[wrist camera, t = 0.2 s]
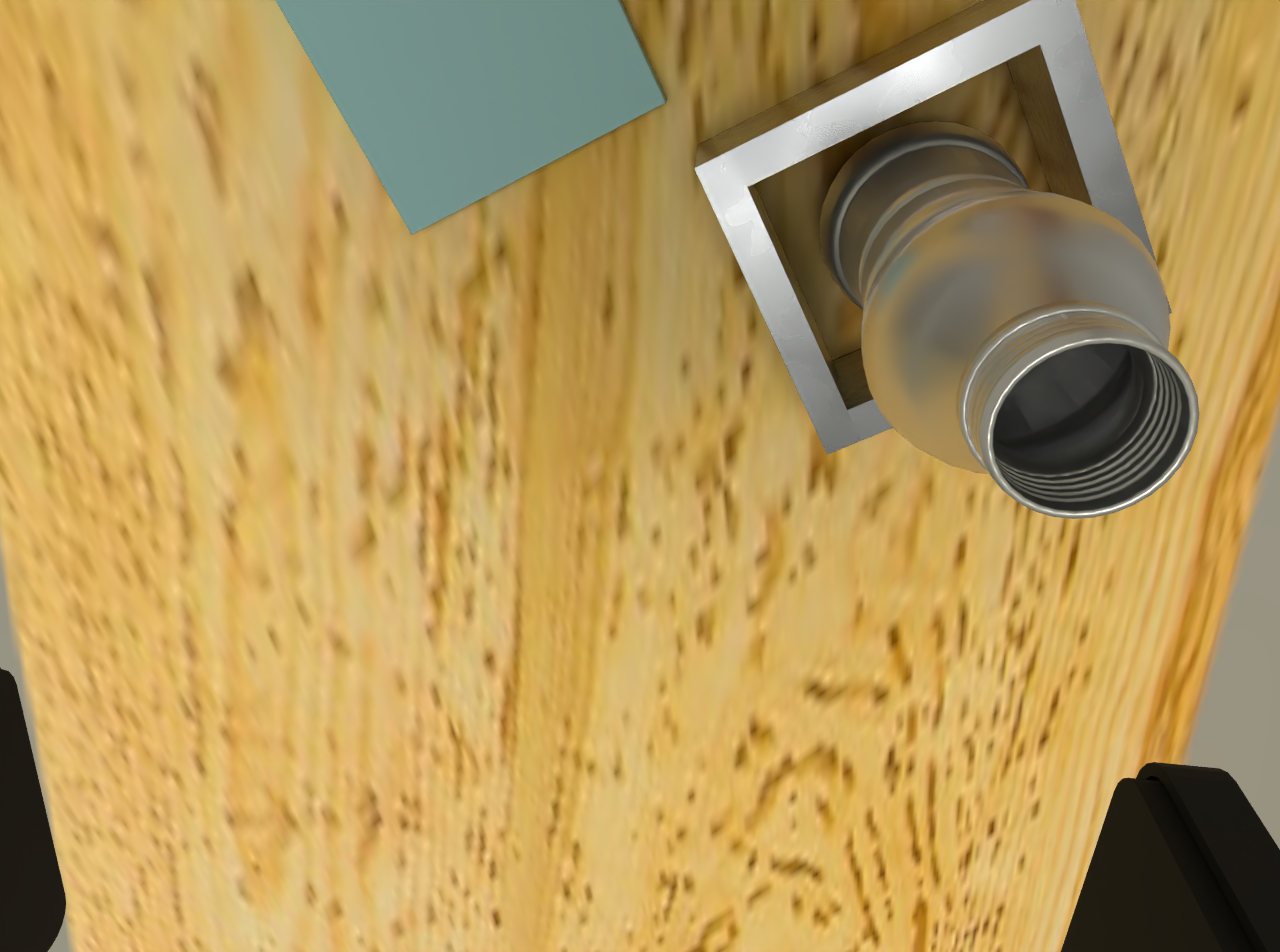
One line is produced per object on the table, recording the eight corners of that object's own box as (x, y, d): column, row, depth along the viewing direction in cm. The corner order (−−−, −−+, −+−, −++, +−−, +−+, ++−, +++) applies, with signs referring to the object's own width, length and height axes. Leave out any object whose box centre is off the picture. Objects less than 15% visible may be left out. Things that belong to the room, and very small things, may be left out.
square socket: (1022, -20, 34) (1069, -20, 29) (1116, 272, 37) (1171, 312, 33) (697, 144, 36) (694, 168, 32) (815, 401, 40) (827, 454, 35)
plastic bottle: (1015, 281, 38) (1288, 559, 20) (824, 315, 39) (916, 609, 21) (1003, 92, 35) (1306, 213, 17) (799, 134, 36) (879, 290, 18)
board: (523, -211, 32) (517, -217, 31) (666, 99, 36) (665, 102, 35) (260, -46, 35) (248, -47, 34) (418, 228, 38) (411, 234, 37)
